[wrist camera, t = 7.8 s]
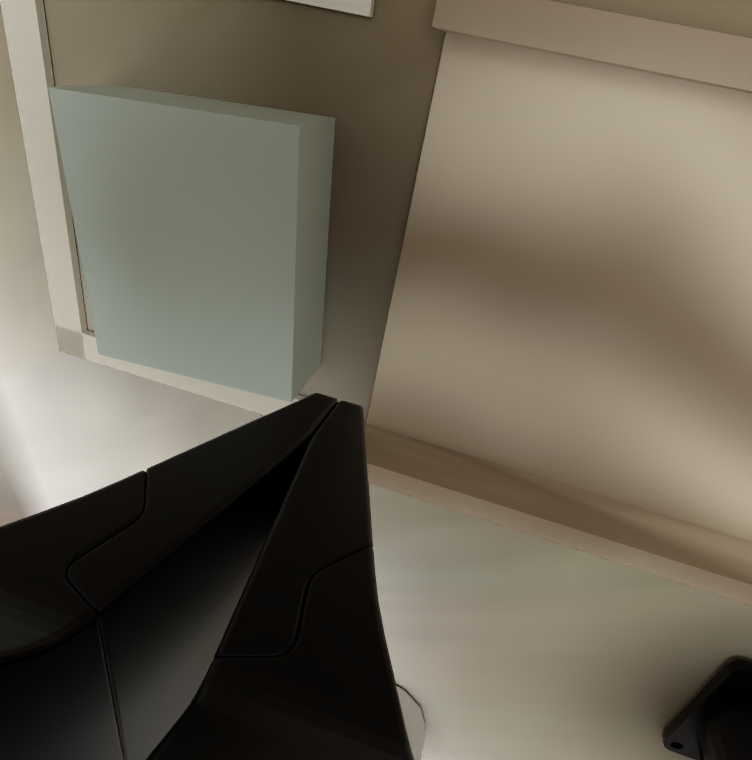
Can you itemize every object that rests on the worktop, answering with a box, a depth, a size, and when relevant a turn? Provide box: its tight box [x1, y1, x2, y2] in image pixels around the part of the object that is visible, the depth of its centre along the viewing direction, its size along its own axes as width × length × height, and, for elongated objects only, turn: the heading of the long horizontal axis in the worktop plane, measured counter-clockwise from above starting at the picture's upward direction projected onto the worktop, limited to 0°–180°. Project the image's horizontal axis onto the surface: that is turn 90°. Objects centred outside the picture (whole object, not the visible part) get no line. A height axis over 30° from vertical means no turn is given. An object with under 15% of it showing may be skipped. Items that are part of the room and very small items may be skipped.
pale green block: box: [48, 85, 335, 402], centre depth 17 cm, size 8×7×3 cm
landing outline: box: [0, 0, 375, 415], centre depth 17 cm, size 14×11×1 cm
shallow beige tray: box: [365, 0, 752, 606], centre depth 14 cm, size 14×16×2 cm
